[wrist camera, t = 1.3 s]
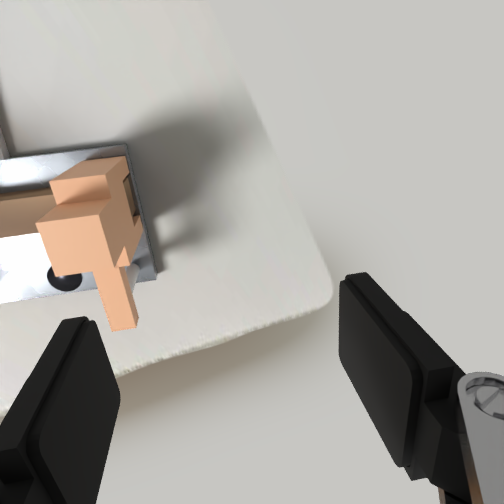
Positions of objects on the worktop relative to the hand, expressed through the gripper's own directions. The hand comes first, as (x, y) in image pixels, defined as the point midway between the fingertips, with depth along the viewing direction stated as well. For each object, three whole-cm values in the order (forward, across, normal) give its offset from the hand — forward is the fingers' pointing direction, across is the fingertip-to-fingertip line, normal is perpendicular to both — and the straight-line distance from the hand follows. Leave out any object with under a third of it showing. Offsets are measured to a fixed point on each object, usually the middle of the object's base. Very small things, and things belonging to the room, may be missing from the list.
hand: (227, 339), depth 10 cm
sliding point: (+18, +7, +2) cm, 20 cm away
